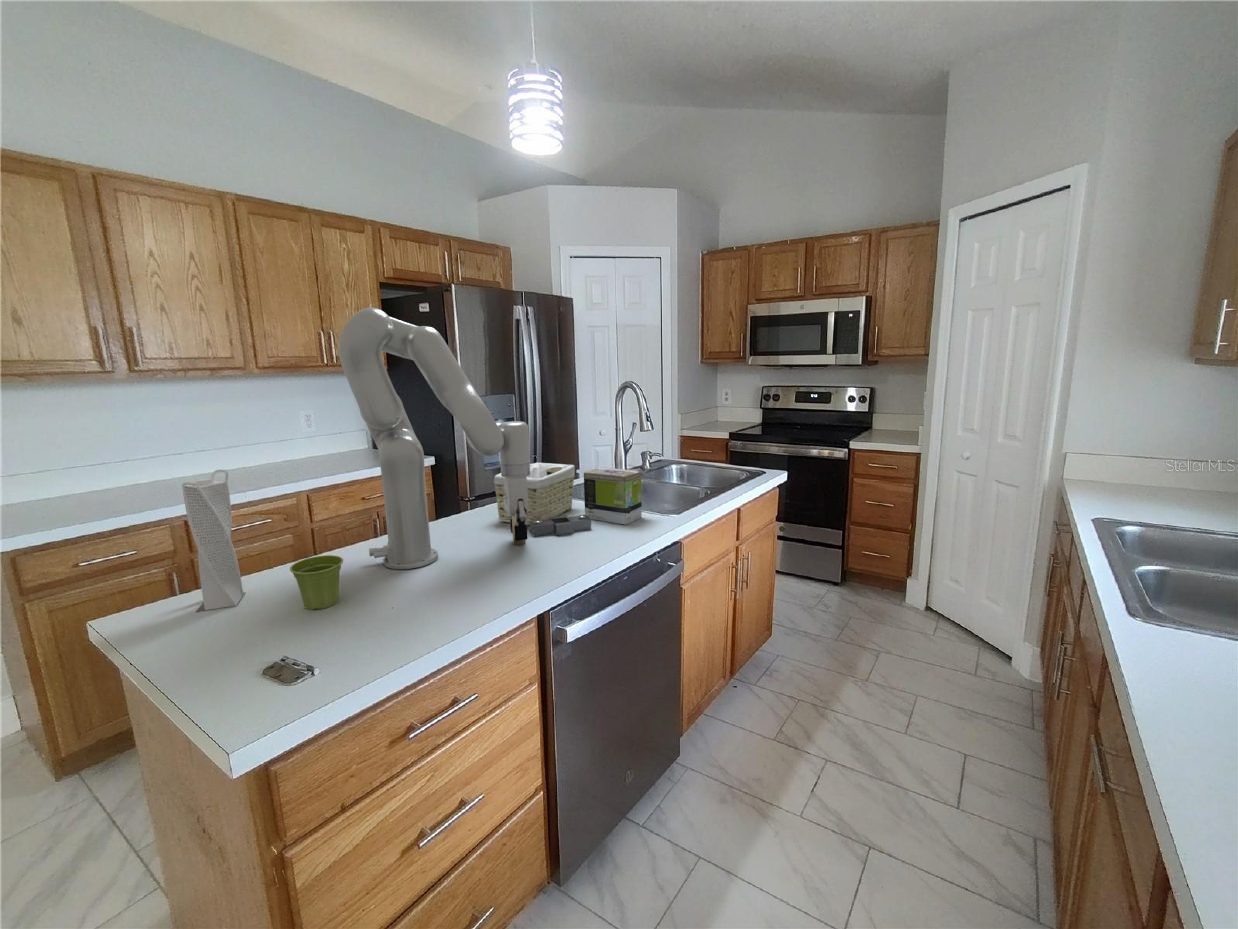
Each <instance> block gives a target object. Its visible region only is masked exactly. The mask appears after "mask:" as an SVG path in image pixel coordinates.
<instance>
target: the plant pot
mask: <svg viewBox="0 0 1238 929" xmlns="http://www.w3.org/2000/svg"><path fill="white" fill-rule="evenodd" d="M343 563H344V558H343V557H341V556H339V555H333V554H332V555H331V554H329V555H317V556H312V557H309V558H304V559H301V560H299V561H297V562H294V563H293V564H291V566H290V567H289V570H290V572H291V573H292V575H293V577H294V578H295V579H296V582H297V586H298V589H299V592H300V595H301V598H302V602H303V605H304V607H305V609H307V610H311V611H312V610H315V609H320V610H323V609H327V608H329V607H332V606H334V605H335V604H337V602H338V600H339V594H340V593H339V592H340V571H341V568H342V564H343Z"/></svg>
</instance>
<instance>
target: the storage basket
mask: <svg viewBox="0 0 1238 929" xmlns="http://www.w3.org/2000/svg"><path fill="white" fill-rule="evenodd" d="M575 467H576V466H575V465H574V464H564V463H550V462H548V463H547V462H535V463H530V472H531V475H529V476H527V487H528V505H529V510H528V513H527V514H526V523H527V526H530V521H534V520H545V519H549V517H556V516H561V515H562V514H563V513H565V512H567V511H568V510H571V509H572V506H573V496H574V482H575V481H574V480H575V474H576V473H575V470H576V468H575ZM548 473H551V474H548ZM493 478H494V479H493V484H494V490H495V496H496V503H497V512H498V520H499V521H500V522H503V523H504V522H506V523H510V519H512V518H511V516H510V515H509V513H508V512H507V510H506V508H505V490H504V479H505V477H502V476H501V472H500V473H497V474H495V476H494V477H493ZM510 524H511V523H510Z"/></svg>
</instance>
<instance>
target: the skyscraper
mask: <svg viewBox="0 0 1238 929" xmlns="http://www.w3.org/2000/svg"><path fill="white" fill-rule="evenodd" d="M217 473H224V474H225V478H224V481H221V480H215V479H214V477H215V475H216V474H217ZM228 479H229V471H226V470H224V469H216V470H214V471H213V472H212V474H211V476H210V477H206V478H204V477H203V478H199V479H196V480H195V482H188V481H187V482H183V483H182V485H181V488H182V494H183V501H184V507H185V511H186V518H187V522H188V524H189V528H190V532H191V534H192V538H193V539H194V542H195V544H196V547H197V559H198V563H197V564H198V572H199V580H200V587H201V593H202V600H203V601H202V603H201V604H200V605H199V607H197V609H196V610H195V613H200V612H209V611H215V610H222V609H227V608H229V609H230V608H234V607H235V608H236V607H238V605H239V604H240V603H241V601H242V599H243V598H244V597H245V595H246V592H245V591H244V590H243V589H244V588H243V582H242V577H241V571H240V567H239V561H238V558H237V553H236V550H235V548H234V544H233V541H232V539H231V533H232V525H233V523H232V516H233V515H232V505H231V504H232V503H231V495H230V489H229V483H228Z"/></svg>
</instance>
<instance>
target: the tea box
mask: <svg viewBox="0 0 1238 929" xmlns="http://www.w3.org/2000/svg"><path fill="white" fill-rule="evenodd" d="M583 489H584V490H583V491H584V492H583V494H584V515H587V516H588V517H589V518H590V519H591V520H596V521H600V522H601V521H602V522H607V523H614V524H621V525H629V524H631V523H633V522H635V521H638V520H639V519H641V518H642V516H643V514H642V512H643V511H642V509H643V506H642V505H643V504H642V503H643V501H642V497H643V496H642V494H643V493H642V471H641V470H636V469H632V470H631V469H625V468H624V469H623V468H614V467H604V466H601V467H598V468H593V469H590V470H587V471H584V472H583Z"/></svg>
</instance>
